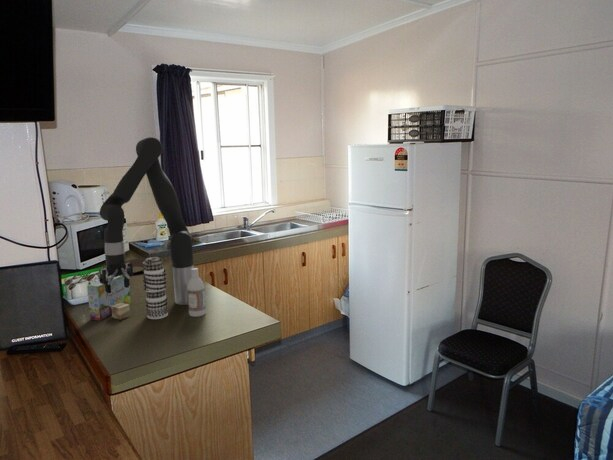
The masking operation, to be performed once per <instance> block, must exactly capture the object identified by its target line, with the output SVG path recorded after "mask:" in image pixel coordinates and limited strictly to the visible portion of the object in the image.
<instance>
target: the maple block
mask: <svg viewBox="0 0 613 460" xmlns="http://www.w3.org/2000/svg"><path fill="white" fill-rule="evenodd" d="M111 308H112V314H111V317H112V318H113V319H116V320H117V319H118V320H120V321H121V320H123V319H125V318H128V317H131V308H130V304H125V303H119V304H117V305H114V306H111Z"/></svg>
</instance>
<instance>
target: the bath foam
mask: <svg viewBox="0 0 613 460" xmlns="http://www.w3.org/2000/svg"><path fill="white" fill-rule="evenodd" d="M191 276H192V277H191V279H190V281H189V283H188V286H187V292H188V305H187V306H188V314H189V316H190V317H202V316H204V315H205V314H206V312H207V309H206V307H207V306H206V294H205V293H206V292H205V285H204V284H205V283H204V282H203V280H202V279H201V278H200V276H199V267H194V268H192V269H191Z"/></svg>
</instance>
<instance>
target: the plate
mask: <svg viewBox="0 0 613 460" xmlns="http://www.w3.org/2000/svg"><path fill="white" fill-rule="evenodd" d="M147 258H148V257H147ZM147 258H146V257H143V258H133V259H129V260H126V262H125V264H126V263H127V262H128V263H132V267H133V268H142V269H141V270H137V271H136V270H135V271H133V274H134V273H138V272H143V271H144V264H143V262H145V260H146V259H147Z"/></svg>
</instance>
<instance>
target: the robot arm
mask: <svg viewBox="0 0 613 460" xmlns="http://www.w3.org/2000/svg"><path fill="white" fill-rule="evenodd" d="M163 149H164V148H163V144H162V142H161V141H160V140H159V139H158V138H156V137H152V136H151V137H150V136H149V137H146V138H143V139H141V140H139V141H138V142H137V143H136V146H135V152H136V155H137V157H136V159H135V160H134V162H133V164H132V165H131V166H130V168H129V169H128V170H127V172H125V174H124V175H123V176H122V177H121V179H120V181H119V182H118V184H117V185H116V187H115V189H114V190H113V193H110V195H109V196H108V198H106V200H105V201H104V202H103V203H102V205H101V206H100V209H99V216H100V218H101V219H102V220H104V221H107V227H106V228H104V231H103V235H104V236H103V237H104V238H103V239H104V253H105V254H104V256H105V264H106V268H100V269H99V270H98V271H99V280H100V283H101V284H105V291H106V292H107V293H111V284H110V283H111V281H112V280H113V279H114V277H117V276H121V275H122V276H123V277H124V278H125V279H124V287H126V288H128V287H129V288H130V278H131V277H134V273H133V272H134V267H132V263H128V262H127V263H126V264H125V262H126V261H127V260H126V250H125V242H124V231H123V229H124V225H125V219H126V217H125V211H124V209H123V205H125V204H127V203H129V202H130V201H131V198H132V197H134V196H133V195H134V194H135V192H136V191H137V188H138V187H139V186H140V183H141V182H142V180H143V179H144V177H145V176H146V177H147V181H148V183H149V186H150V189H151V192H152V195H153V198H154V200H155V203H156V206H157V208H158V210H159V212H160V214H161V215H162V217H163V219H164V220H165V222H166V225H167V229H168V232H169V236H170V240H169V241H170V242H169V243H170V255H171V256H170V257H171V266H172V277H173V278H172V279H173V280H172V281H173V290H174V291H173V293H174V303H175V305H180V306H183V305H184V306H185V305H186V306H188V292H187V286H188V283H189V281H190V279H191V277H192V276H191V269H192V268H195V267H194V255H193V254H194V252H193V238H192V235H191V233H190V232H189V229H188V227H187V226H186V223H185V221H184V218H183V215H182V210H181V205H180V202H179V199H178V196H177V193H176V190H175V188H174V185H173V183H172V182H171V181H170V179H169V177H168V176H167V174H166V173H165V171H164V170H163V167H162V166H161V163H160V160H159V158H160V156H161V155H162V154H163V151H164V150H163ZM110 276H111V277H110Z"/></svg>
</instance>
